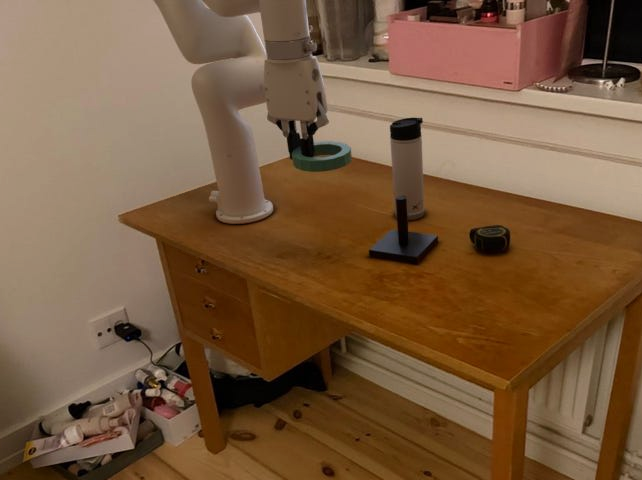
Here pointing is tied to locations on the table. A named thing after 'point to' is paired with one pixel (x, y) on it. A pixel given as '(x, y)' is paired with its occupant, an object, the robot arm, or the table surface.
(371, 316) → the table surface
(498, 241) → the tape measure
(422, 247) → the stand
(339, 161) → the bangle
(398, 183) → the travel mug
